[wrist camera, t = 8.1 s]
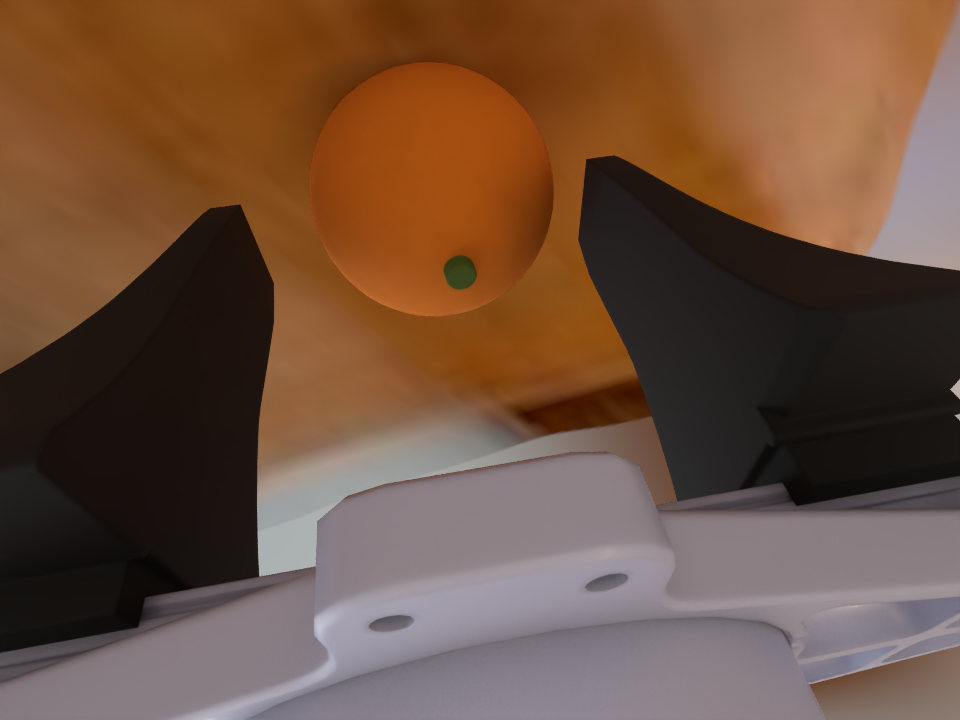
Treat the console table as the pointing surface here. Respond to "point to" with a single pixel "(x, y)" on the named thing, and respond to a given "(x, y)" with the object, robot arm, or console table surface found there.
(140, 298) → the robot arm
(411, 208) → the orange
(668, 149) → the console table surface
